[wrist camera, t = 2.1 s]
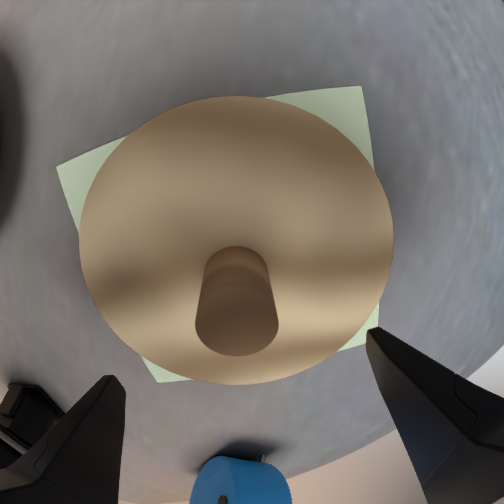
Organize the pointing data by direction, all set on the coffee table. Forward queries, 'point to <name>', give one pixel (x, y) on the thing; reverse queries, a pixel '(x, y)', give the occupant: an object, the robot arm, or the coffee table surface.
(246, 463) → the alarm clock
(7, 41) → the coffee table surface
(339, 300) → the lid
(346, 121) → the mat
